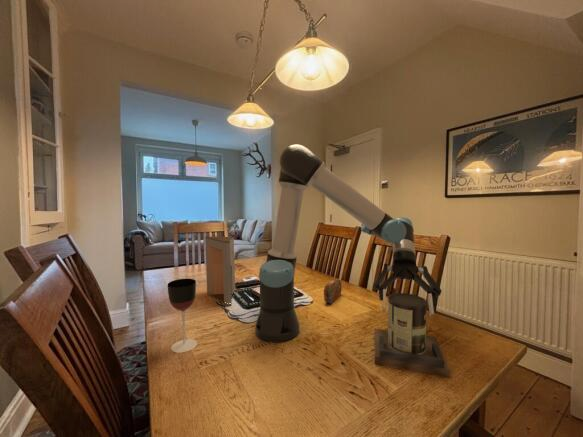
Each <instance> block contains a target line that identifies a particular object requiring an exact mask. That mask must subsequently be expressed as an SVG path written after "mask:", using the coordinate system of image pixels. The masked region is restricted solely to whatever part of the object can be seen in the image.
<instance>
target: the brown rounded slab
mask: <svg viewBox="0 0 583 437" xmlns="http://www.w3.org/2000/svg"><path fill="white" fill-rule="evenodd" d="M341 293H342V282H341V280H340V279H331V281H329V282H328V283H327V284H325V286H324V288H323V299H324V302H325V303H326V304H327V303H328V304H331V305H332V304H333V303H335V302H336V301H337V300H338V299H339V298H340V296H341V295H342V294H341Z"/></svg>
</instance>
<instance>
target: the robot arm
mask: <svg viewBox="0 0 583 437" xmlns="http://www.w3.org/2000/svg"><path fill="white" fill-rule="evenodd" d="M325 164H326V163H325V161H324V160H322V159H321V158H319V157H318V156H317V155H316V154H315V153H314V152H312V151H311V150H310V149H309V148H307V147H306V146H304V145H302V144H291V145H289V146H287V147H286V148H285V149H283V151H282V152H281V155H280V157H279V166H280V169H279V176H278V184H279V186H280V187H281V190H280V196H279V203H278V210H277V217H276V223H275V227H274V228H275V229H274V235H273V242H272V248H270V249H269V250H268V251H267V256H266V262H263V263H262V264H261V265H260V267H259V272H258V278H259V312H258V316H257V318H256V322H255V324H254V325H255V330H254V331H255V335H256V337H257V338H259V339H260V340H263V341H266V342H270V343H281V342H287V341H291V340H292V339H293V338H295V337H297V336H298V335H299V333H300V322H299V318H298V315H297V312H296V310H295V272H296V266H297V261H298V260H297V259H298V256H297V254H296V252H295V246H296V243H297V242H296V241H297V235H298V228H299V222H300V216H301V211H302V210H301V209H302V205H303V204H302V202H303V197H304V192H305V190H307V189H308V188H309V186H311V187H312V188H314V189H316V190H317V191H318V192H320V194H322V195H323V196H325V197H326V198H327V199H329V200H330V201H331V202H333V203H335V205H337V206H338V207H339V208H341V209H343V210H344V211H345V212H346V213H347V214H348V215H350V216H351V217H353V218H354V219H355V220H357V221H358V222H360V223H361V225H360V230H361V231H362V233H364V234H367V235H370V236H373V237H377V238H378V239H381V240H383V241H385V243H391V244H392V265H388V264H387V263H384V264H383V268H382V271H381V272H380V274H379V276H378V277H377V278H376V280H375V282H374V283H373V289H374V290H375V291H378V293H379V294H378V297H379V298H378V299H379V301H382V312H386V310H387V309H386V304H387V302H386V298H387V297H386V295H387V294H386V289H387V288H388V287H389V286H390V285H391V284H392V283H394V282H395V281H396V280H397V279H400V280H408V281H411V280H412V281H414V282H415V283H416V284H417V285H419V286H420V288H422V289H423V290H424V292H425V293H427V294H428V295H427V305H428V310H429V317H430V318H434V316H435V310H434V307H437V306H436V305H437V297H438V296H441V294H442V289H441V288H440V287H439V285H438V284H437V282H436V281H435V279H434V278H433V276H432V275H431V274H430V272H429V270H428V267H427V266H426V265H425V266H424V265H423V267H418V265H417V258H416V247H415V236H414V235H415V233H414V226H413V225H414V224H413V222H412V220H411V219H409V218H408V217H406V216H405V217H397V218H393V217H391V216H390V215H389V214H388V213H387V212H385V211H384V210H382V208H380V207H378V205H376V204H375V203H374V202H372V201H371V200H369V199H368V198H367V197H366V196H364V195H363V194H362V193H360V192H359V191H358V190H356V189H355V188H353V187H352V186H350V184H349V183H347V182H346V181H344V180H343V179H342V178H341V177H339V176H338V175H337V174H335V173H334V172H332V171H331V170H330V169H329V168H327V167H326V165H325ZM390 271H392V272H393V273H392V274H391V275H390V276H389V277H387V279H386V280H385V281H384V282H383V280H384V279H385V278H386V276H387V274H388V273H389V272H390ZM418 273H420V274H421V276H422V275H423V277H424V279H425V280H426V281H425V280H424V279H423V278H422V277H421V276H420V275H419V274H418ZM436 296H437V297H436Z"/></svg>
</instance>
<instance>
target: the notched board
mask: <svg viewBox="0 0 583 437" xmlns="http://www.w3.org/2000/svg"><path fill="white" fill-rule="evenodd" d="M374 365H379V366H386V367H390V368H396V369H403V370H407V371H413V372H419V373H425V374H430V375H434V376H435V375H436V376H441V377H446V378H450V377H451V376H450V374H451V369H450V366H449V364H448V362H447V360H446V358H445V356H444V353H443V351H442V348H441V347H440V343H439V342H438V339H437V337H436V336H430V335H429V336H428V335H426V352H425V353H424V354H423V355H420V354H414V353H407V352H401V351H395V350H392V349H391V348H390V347H389V345H388V329H387V330H386V329H379V328H374Z"/></svg>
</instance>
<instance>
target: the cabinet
mask: <svg viewBox="0 0 583 437" xmlns="http://www.w3.org/2000/svg"><path fill="white" fill-rule="evenodd" d="M204 239H205V241H204V242H205V264H206V266H205V267H206V270H205V271H206V272H205V273H206V294H207V295H208V296H211V297H212V298H214V299H215V300H216V301H217V302H220V303H221V304H223V305H225V306H226V307H228V308H229V307H231V306H232V300H233V298H234V297H235V295H233V296H231V294H233V292H234V291H235V292H236V276H235V275H236V274H235V271H236V270H235V238H234V236H205V237H204ZM225 302H226V303H225ZM227 303H228V304H227ZM229 303H231V304H229Z"/></svg>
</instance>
